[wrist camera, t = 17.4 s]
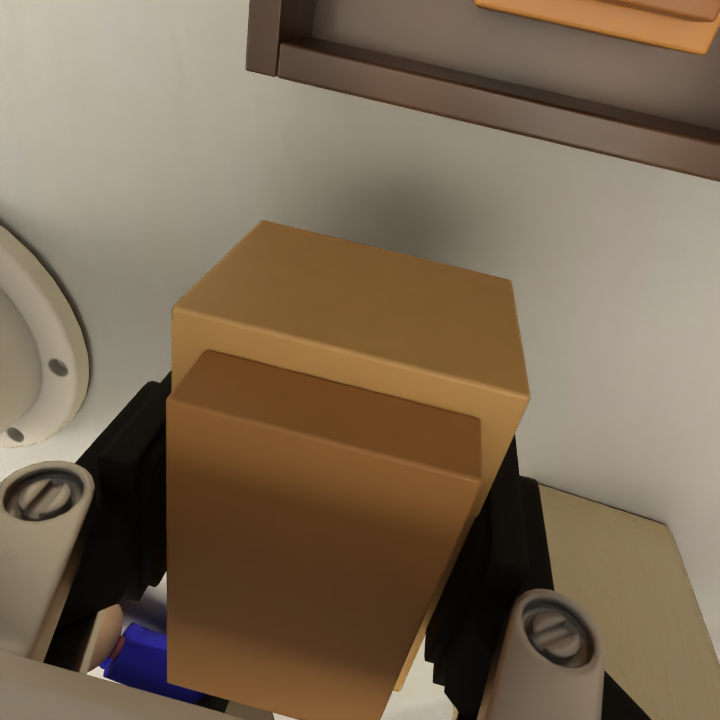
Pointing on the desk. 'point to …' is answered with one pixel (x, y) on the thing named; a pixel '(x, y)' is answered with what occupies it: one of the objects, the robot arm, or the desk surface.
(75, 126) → the desk surface
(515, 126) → the brown wooden tray
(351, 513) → the stepped wooden block
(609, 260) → the desk surface
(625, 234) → the desk surface
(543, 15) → the orange stepped block
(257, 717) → the figurine character
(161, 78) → the desk surface
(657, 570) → the toy refrigerator
